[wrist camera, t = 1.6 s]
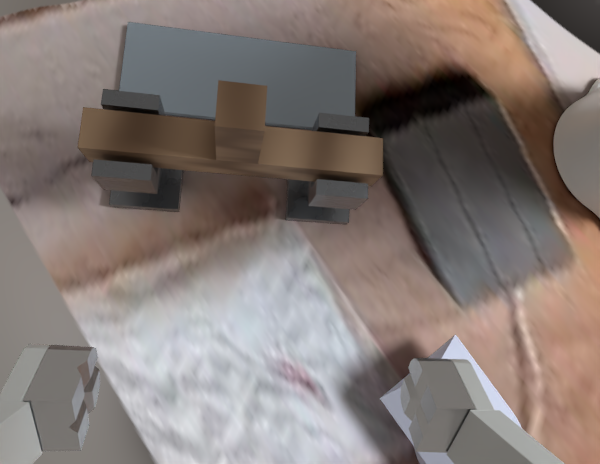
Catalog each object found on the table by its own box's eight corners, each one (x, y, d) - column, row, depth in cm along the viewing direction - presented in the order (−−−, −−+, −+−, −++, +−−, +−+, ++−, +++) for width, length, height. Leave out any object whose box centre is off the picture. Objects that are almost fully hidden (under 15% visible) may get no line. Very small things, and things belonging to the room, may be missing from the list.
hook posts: (347, 163, 47) (381, 119, 37) (346, 227, 46) (380, 199, 36) (120, 142, 44) (88, 87, 34) (111, 210, 43) (76, 174, 33)
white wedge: (368, 392, 43) (453, 512, 43) (393, 404, 37) (494, 546, 36) (439, 333, 46) (521, 446, 45) (474, 335, 39) (572, 467, 38)
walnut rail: (371, 152, 39) (413, 102, 31) (370, 186, 39) (413, 146, 30) (94, 124, 36) (53, 60, 27) (89, 161, 36) (45, 108, 27)
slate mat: (354, 54, 50) (356, 51, 49) (353, 134, 48) (354, 131, 48) (129, 25, 47) (127, 21, 46) (118, 109, 45) (117, 107, 44)
